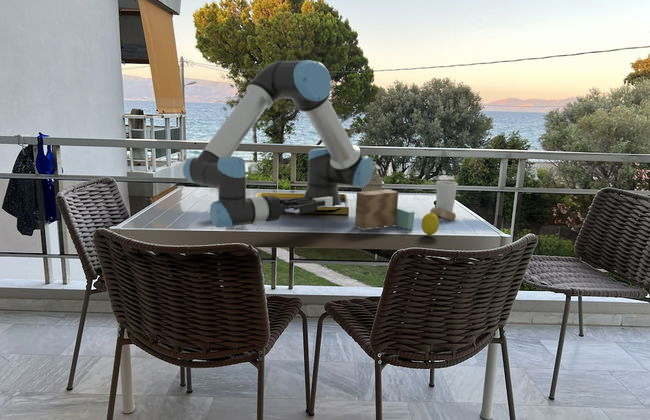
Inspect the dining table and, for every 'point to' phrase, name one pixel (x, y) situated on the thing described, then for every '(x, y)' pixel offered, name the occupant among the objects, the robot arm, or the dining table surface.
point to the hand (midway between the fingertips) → (331, 201)
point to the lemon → (430, 224)
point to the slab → (376, 208)
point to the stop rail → (405, 218)
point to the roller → (443, 213)
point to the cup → (445, 195)
